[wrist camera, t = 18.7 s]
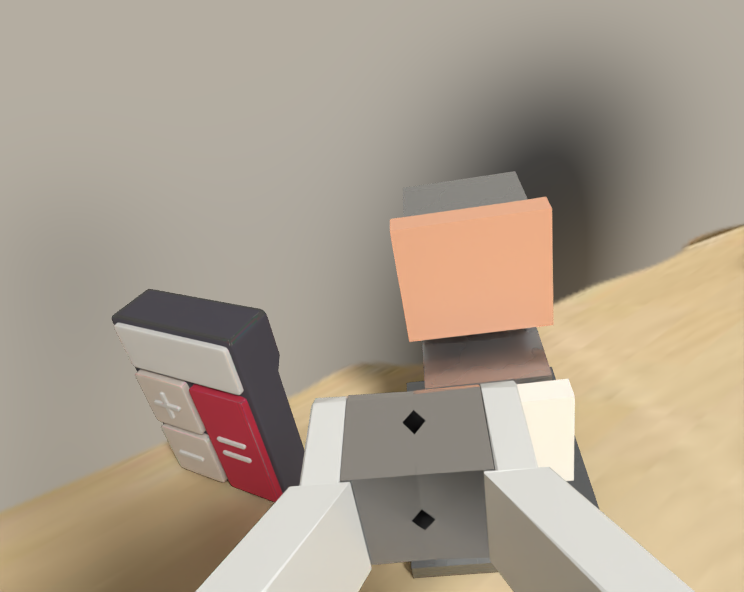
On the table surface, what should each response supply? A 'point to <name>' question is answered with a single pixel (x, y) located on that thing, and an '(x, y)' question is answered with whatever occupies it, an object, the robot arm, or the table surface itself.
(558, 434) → the cream stepped block
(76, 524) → the table surface
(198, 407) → the dark rectangular slab
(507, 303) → the orange plunger
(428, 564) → the press rig
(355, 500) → the robot arm
